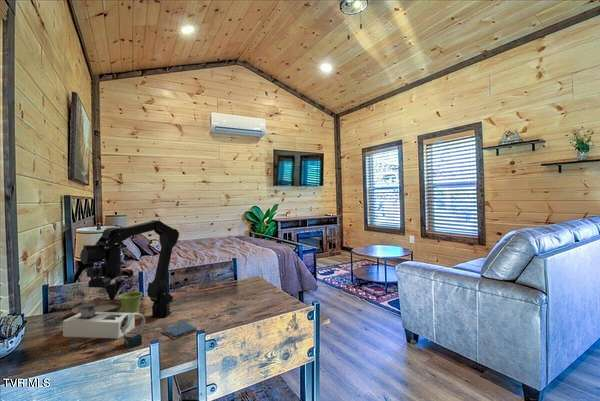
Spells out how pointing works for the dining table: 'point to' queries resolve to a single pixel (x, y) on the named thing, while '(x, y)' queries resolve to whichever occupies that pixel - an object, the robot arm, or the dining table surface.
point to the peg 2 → (112, 317)
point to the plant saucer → (101, 306)
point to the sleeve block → (96, 326)
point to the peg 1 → (88, 311)
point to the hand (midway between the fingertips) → (112, 299)
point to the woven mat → (179, 330)
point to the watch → (135, 337)
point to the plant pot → (131, 302)
